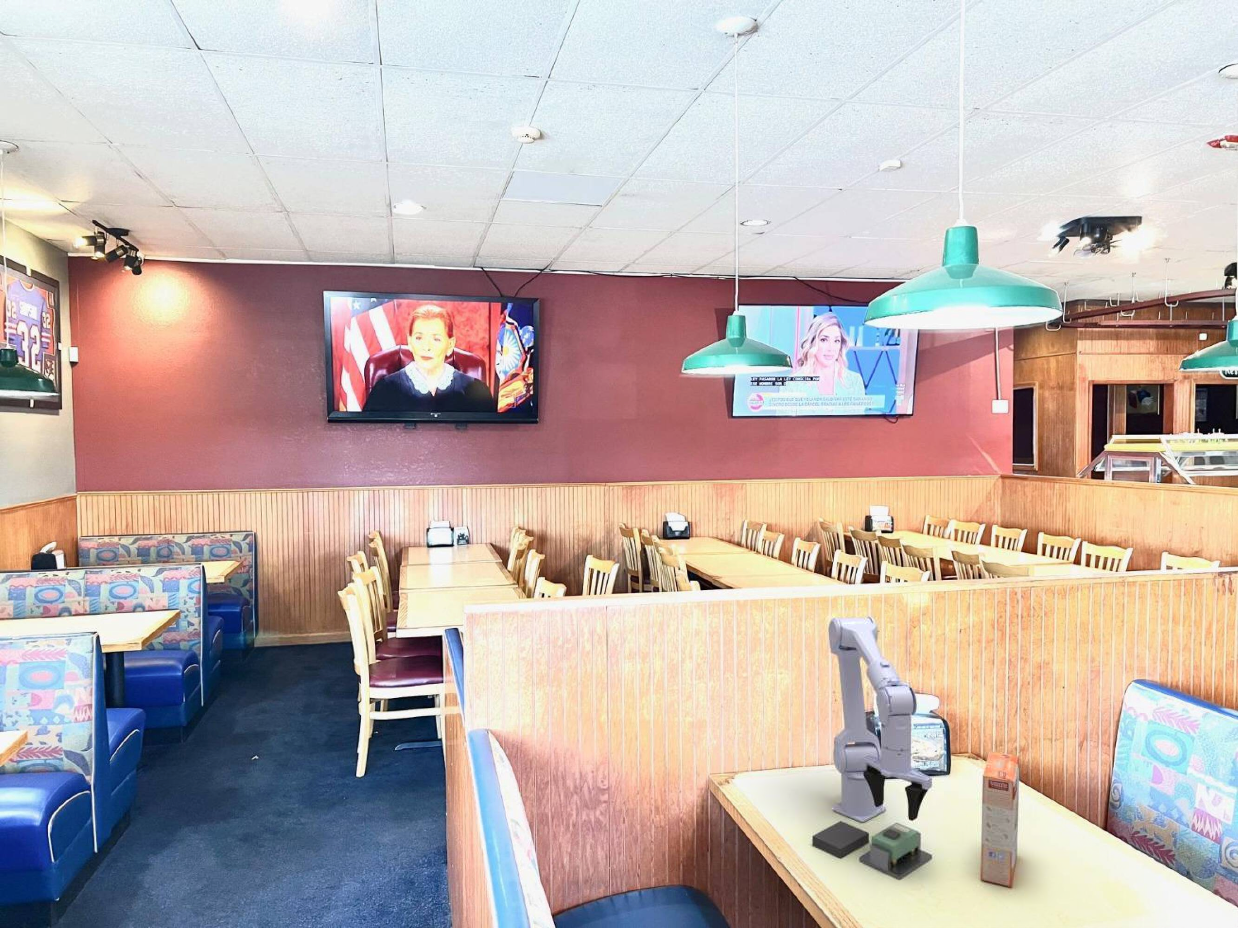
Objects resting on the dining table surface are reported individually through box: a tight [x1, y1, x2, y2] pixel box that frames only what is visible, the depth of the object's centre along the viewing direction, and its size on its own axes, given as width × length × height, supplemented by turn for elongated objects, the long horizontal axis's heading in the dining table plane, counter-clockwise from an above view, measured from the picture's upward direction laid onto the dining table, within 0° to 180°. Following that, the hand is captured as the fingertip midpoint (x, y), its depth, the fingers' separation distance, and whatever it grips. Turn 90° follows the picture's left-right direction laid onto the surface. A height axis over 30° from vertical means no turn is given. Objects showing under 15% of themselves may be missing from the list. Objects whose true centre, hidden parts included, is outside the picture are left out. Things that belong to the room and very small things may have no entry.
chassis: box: [858, 831, 933, 881], centre depth 163 cm, size 12×9×4 cm
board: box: [870, 822, 919, 861], centre depth 163 cm, size 9×5×4 cm, turn 130°
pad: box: [811, 820, 870, 859], centre depth 170 cm, size 10×7×2 cm
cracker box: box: [980, 750, 1020, 888], centre depth 160 cm, size 14×6×21 cm, turn 150°
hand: (895, 811), depth 163 cm, fingers open, 7 cm apart
